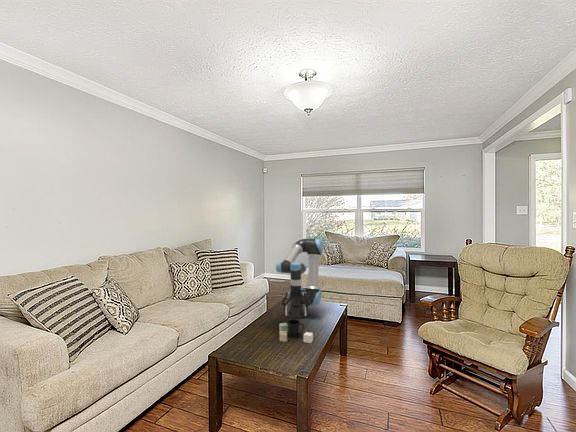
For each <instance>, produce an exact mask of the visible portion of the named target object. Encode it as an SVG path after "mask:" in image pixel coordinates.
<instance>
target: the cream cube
mask: <svg viewBox="0 0 576 432" xmlns="http://www.w3.org/2000/svg"><path fill="white" fill-rule="evenodd" d="M313 340H314V333H313V332H308V331H305V333H303V343H307V344H311V343H312V342H313Z"/></svg>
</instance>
